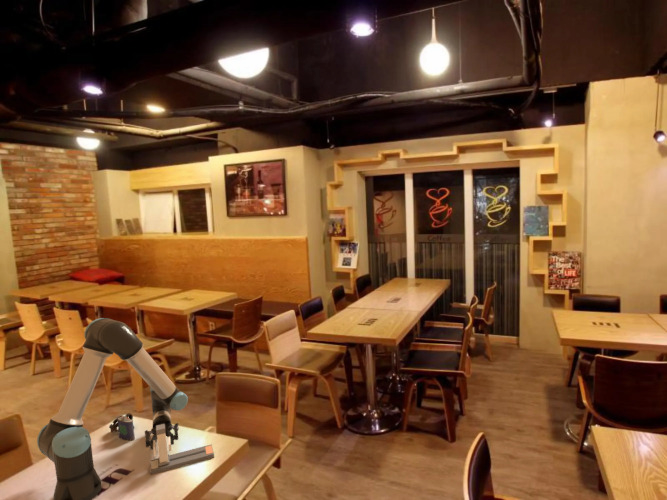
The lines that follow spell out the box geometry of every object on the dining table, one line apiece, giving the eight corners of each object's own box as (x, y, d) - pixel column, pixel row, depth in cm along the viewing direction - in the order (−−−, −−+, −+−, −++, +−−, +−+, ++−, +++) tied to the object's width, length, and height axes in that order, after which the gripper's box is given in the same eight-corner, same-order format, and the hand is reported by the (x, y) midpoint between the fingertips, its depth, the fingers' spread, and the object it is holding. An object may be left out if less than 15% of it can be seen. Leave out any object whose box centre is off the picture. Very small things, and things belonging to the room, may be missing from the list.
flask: (136, 438, 191) (133, 416, 190) (130, 441, 188) (127, 419, 187) (122, 434, 195) (120, 412, 194) (117, 438, 192) (114, 415, 191)
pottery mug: (130, 436, 194) (118, 424, 191) (115, 444, 196) (103, 432, 193) (142, 417, 205) (131, 405, 203) (127, 425, 207) (116, 413, 205)
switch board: (150, 474, 163) (150, 470, 163) (151, 463, 170) (150, 459, 170) (214, 457, 172) (213, 453, 172) (211, 447, 179) (211, 444, 179)
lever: (158, 466, 165) (154, 431, 164) (158, 458, 170) (155, 425, 169) (169, 463, 166) (165, 428, 165) (169, 456, 172) (165, 422, 170)
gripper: (184, 425, 188) (187, 452, 166) (140, 436, 181) (138, 465, 160) (182, 409, 187) (185, 434, 166) (138, 419, 180) (135, 446, 159)
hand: (162, 449), depth 163 cm, fingers open, 5 cm apart
